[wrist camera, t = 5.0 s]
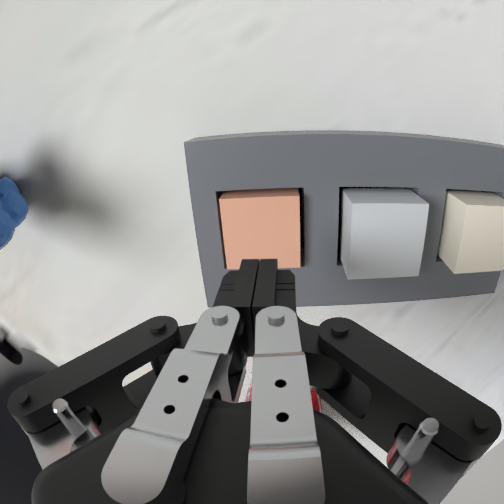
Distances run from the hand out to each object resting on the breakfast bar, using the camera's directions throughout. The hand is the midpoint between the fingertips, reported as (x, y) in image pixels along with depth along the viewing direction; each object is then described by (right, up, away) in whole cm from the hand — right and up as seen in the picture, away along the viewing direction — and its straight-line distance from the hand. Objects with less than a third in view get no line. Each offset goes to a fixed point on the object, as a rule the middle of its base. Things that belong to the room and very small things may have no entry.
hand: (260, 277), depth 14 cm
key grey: (+7, +3, +5) cm, 9 cm away
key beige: (+14, +3, +4) cm, 15 cm away
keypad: (+7, +4, +7) cm, 11 cm away
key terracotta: (0, +3, +7) cm, 8 cm away
